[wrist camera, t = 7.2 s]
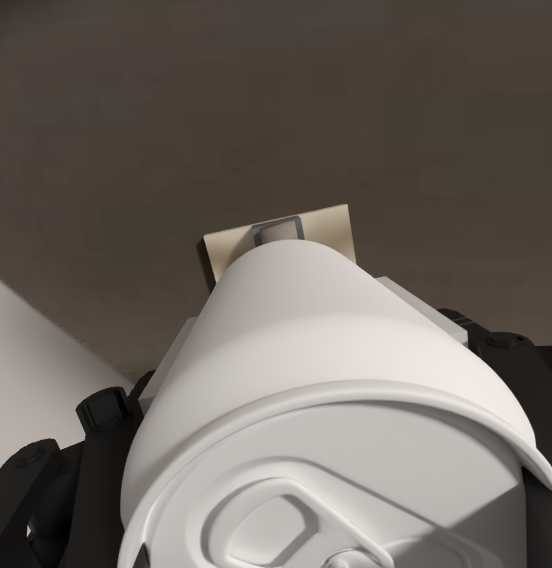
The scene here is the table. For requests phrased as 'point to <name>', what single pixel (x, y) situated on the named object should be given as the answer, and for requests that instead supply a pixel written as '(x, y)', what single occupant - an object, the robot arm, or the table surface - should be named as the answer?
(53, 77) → the table surface
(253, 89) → the table surface
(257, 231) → the cradle
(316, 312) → the beverage can
